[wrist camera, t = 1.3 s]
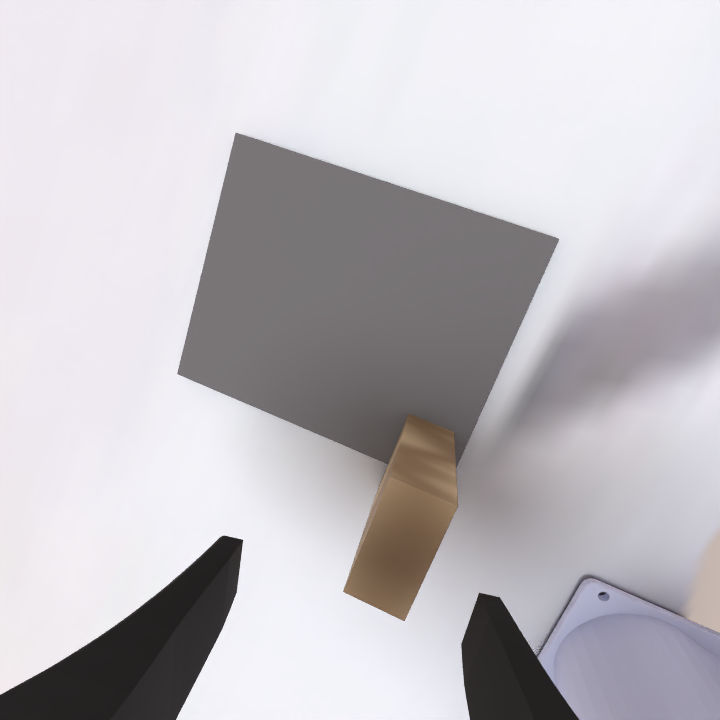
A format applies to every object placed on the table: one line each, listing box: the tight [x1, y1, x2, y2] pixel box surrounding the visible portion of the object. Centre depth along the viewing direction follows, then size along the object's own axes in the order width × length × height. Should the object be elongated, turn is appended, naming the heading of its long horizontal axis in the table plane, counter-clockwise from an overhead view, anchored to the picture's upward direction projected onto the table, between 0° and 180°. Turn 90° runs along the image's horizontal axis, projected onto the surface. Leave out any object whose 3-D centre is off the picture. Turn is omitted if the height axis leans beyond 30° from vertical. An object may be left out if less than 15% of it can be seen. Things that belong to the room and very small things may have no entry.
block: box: [343, 414, 458, 621], centre depth 17 cm, size 2×5×7 cm, turn 160°
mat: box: [177, 133, 559, 467], centre depth 20 cm, size 16×13×1 cm
